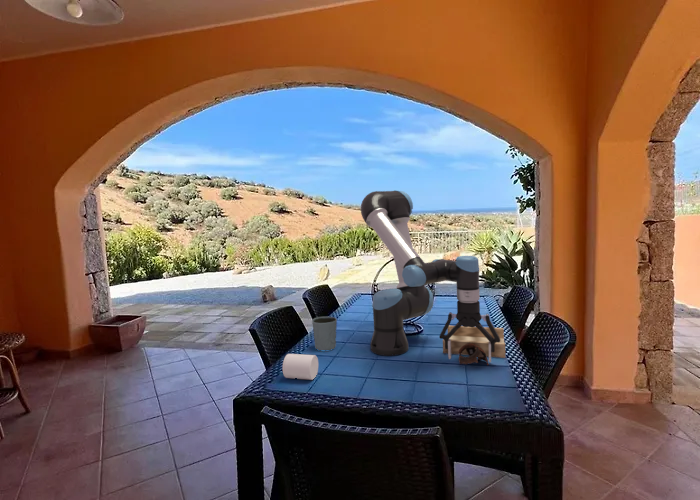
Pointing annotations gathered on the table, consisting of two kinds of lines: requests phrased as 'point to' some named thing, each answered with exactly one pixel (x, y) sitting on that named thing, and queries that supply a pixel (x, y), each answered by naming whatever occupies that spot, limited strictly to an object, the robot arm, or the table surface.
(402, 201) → the robot arm
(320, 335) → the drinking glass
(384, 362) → the table surface
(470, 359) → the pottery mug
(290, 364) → the white cylinder
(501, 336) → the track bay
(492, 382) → the table surface
